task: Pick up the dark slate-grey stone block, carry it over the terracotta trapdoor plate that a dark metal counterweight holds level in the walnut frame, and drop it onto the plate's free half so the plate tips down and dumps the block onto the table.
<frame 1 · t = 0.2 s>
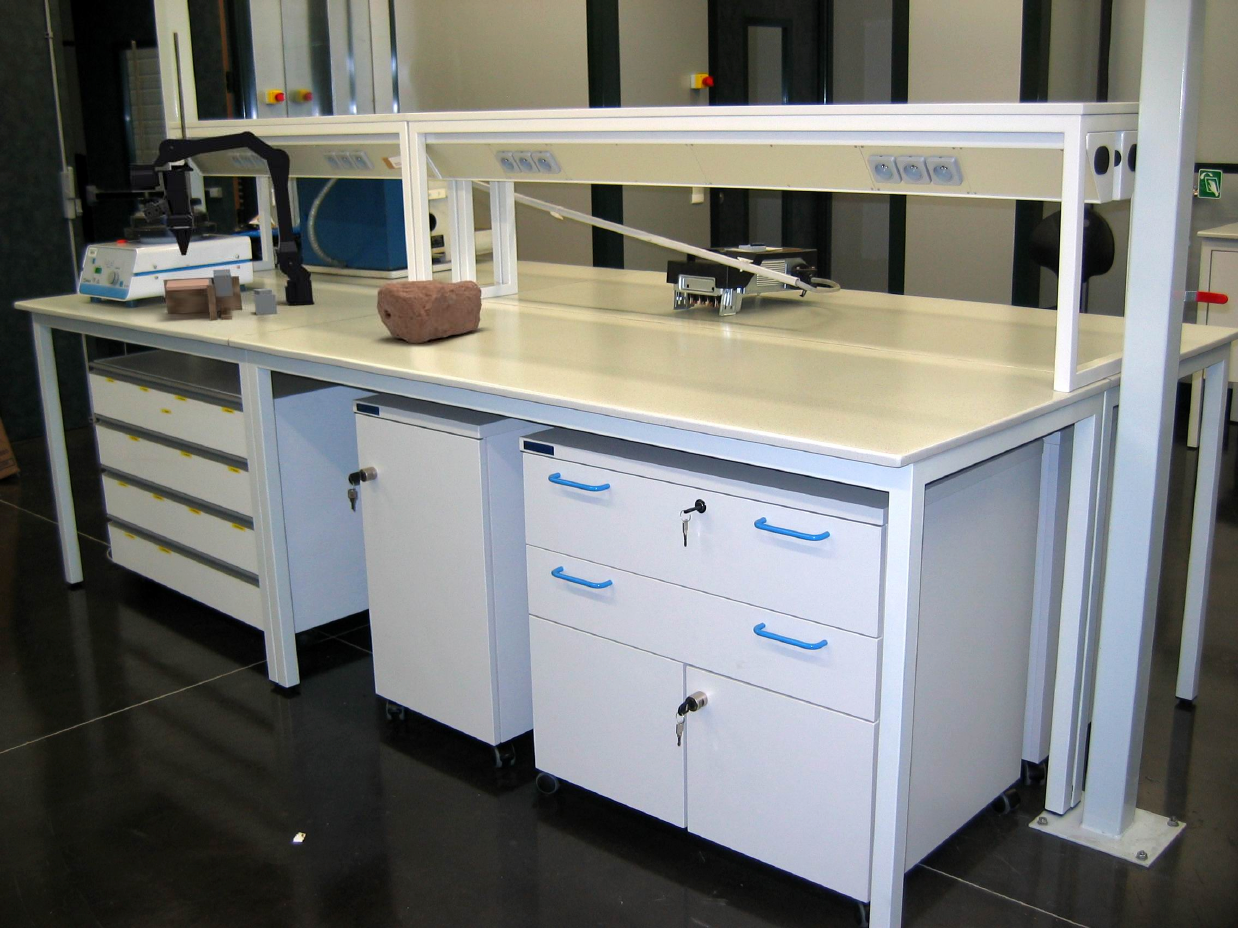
hand: (184, 253, 287), 14 cm above the table, fingers open, 9 cm apart
stone: (437, 336, 251), on the table
slate block: (266, 313, 285), on the table
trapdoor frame: (205, 316, 282), on the table
trapdoor: (199, 283, 279), point 8 cm above the table, hinge at 0.0°
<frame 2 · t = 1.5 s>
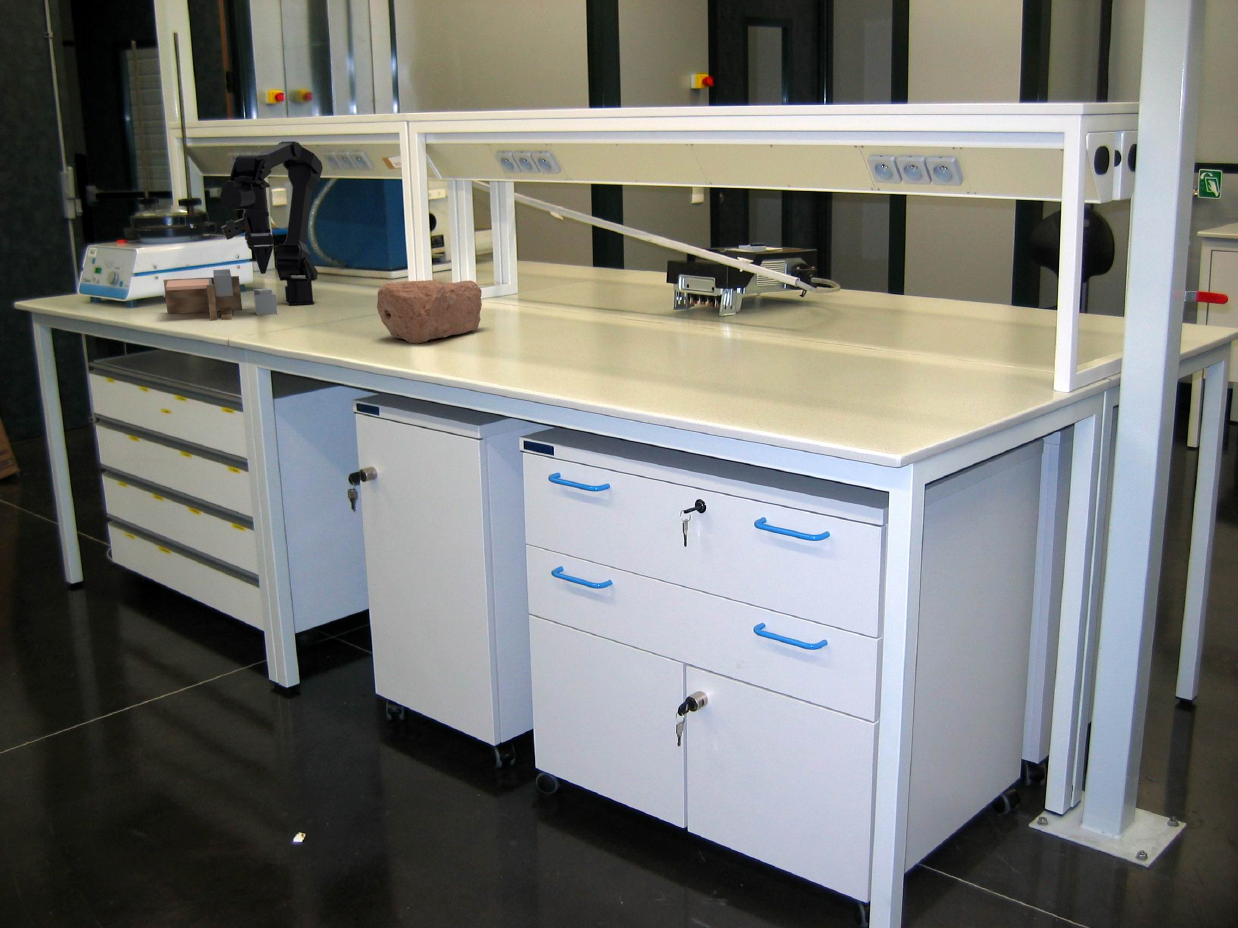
hand: (262, 271, 282), 10 cm above the table, fingers open, 9 cm apart
nothing on the table moved.
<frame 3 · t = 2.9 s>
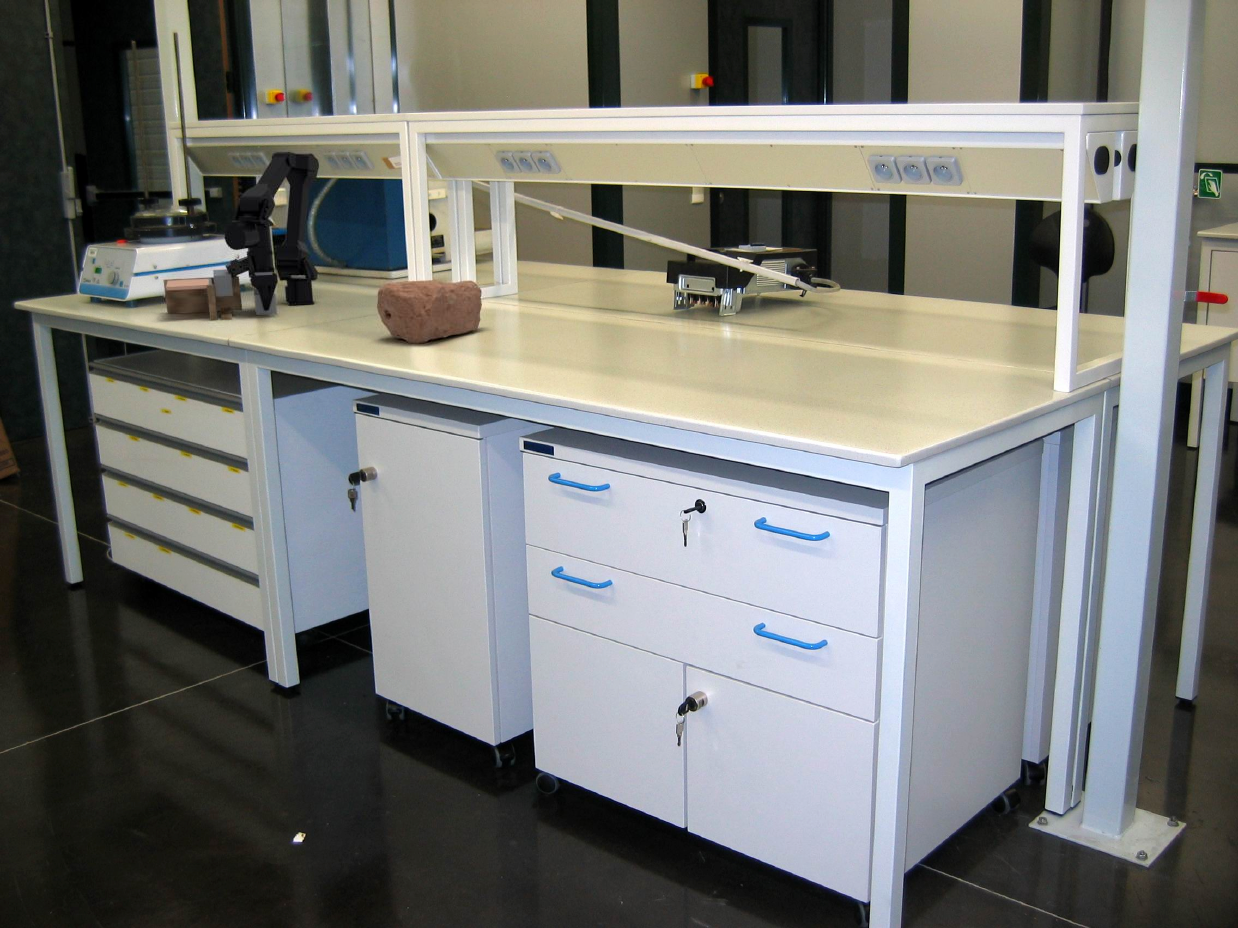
hand: (265, 309, 285), 1 cm above the table, fingers closed on slate block, 5 cm apart
slate block: (266, 313, 285), on the table, touching gripper
everything else where it was.
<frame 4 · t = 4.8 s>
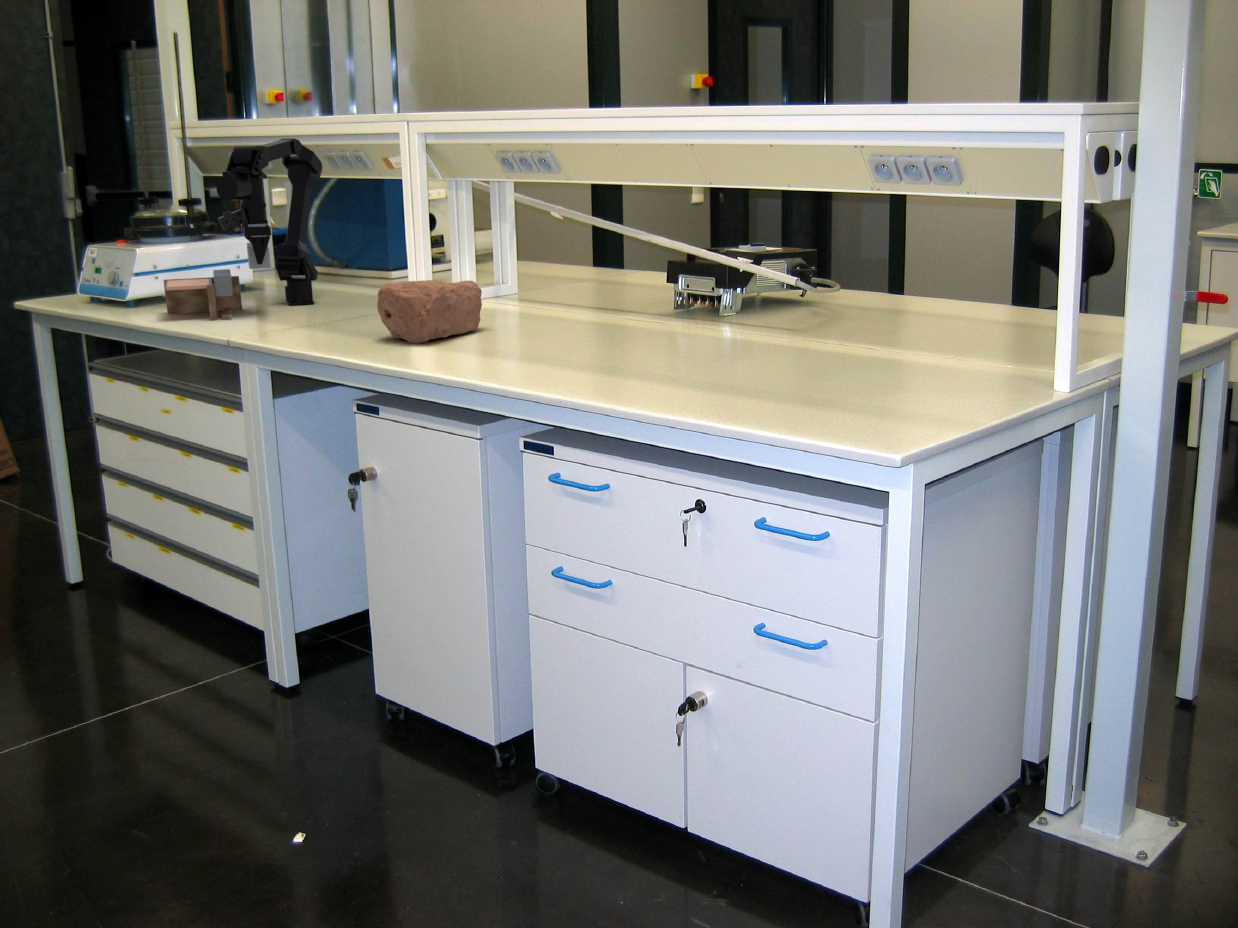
hand: (259, 263, 281), 13 cm above the table, fingers closed on slate block, 5 cm apart
slate block: (259, 267, 282), point 11 cm above the table, touching gripper
everything else where it was.
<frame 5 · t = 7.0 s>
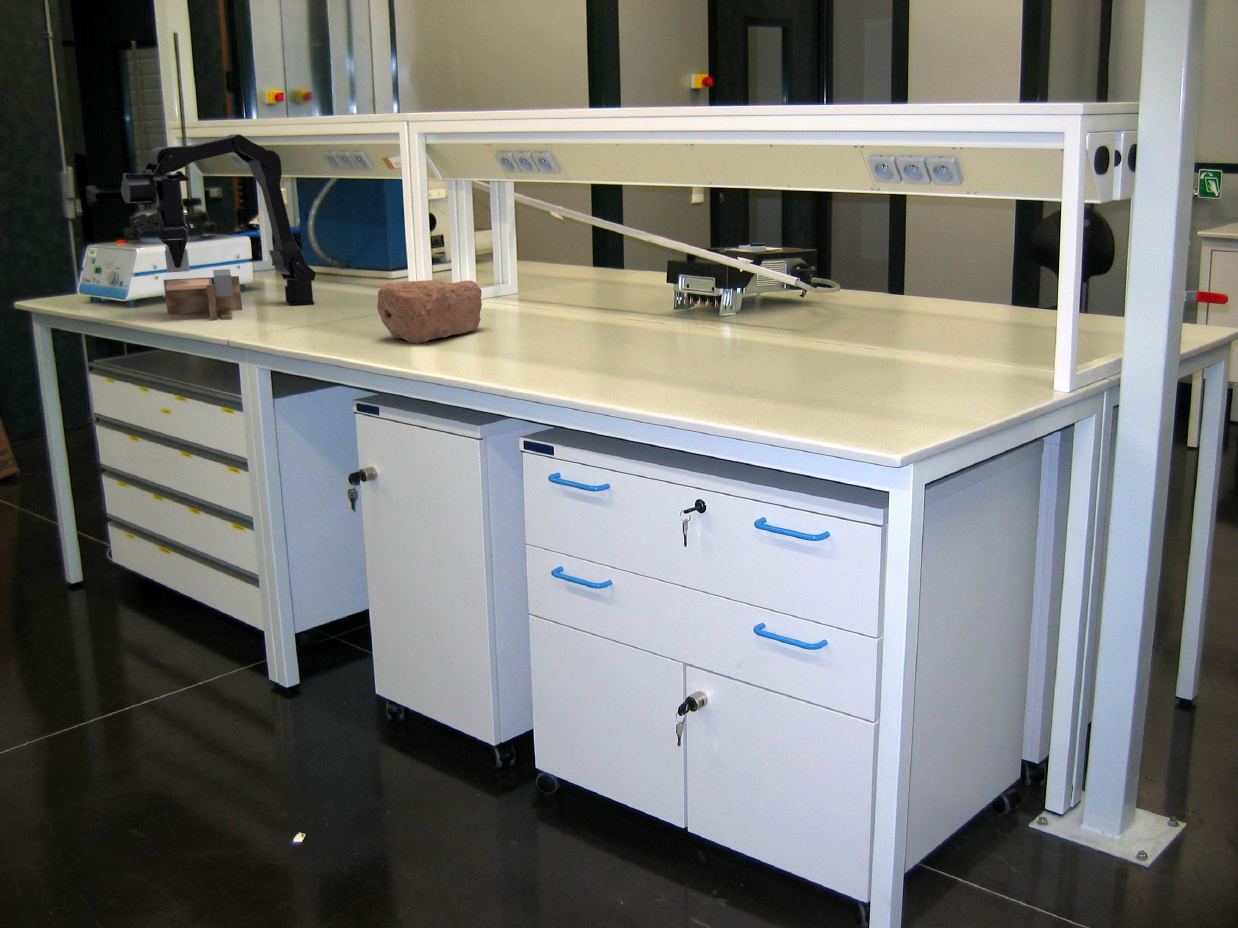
hand: (178, 266, 277), 12 cm above the table, fingers closed on slate block, 5 cm apart
slate block: (178, 270, 277), point 11 cm above the table, touching gripper
everything else where it was.
when the fingers open (12 cm above the table, at t = 7.0 s): slate block drops 6 cm, resting on trapdoor.
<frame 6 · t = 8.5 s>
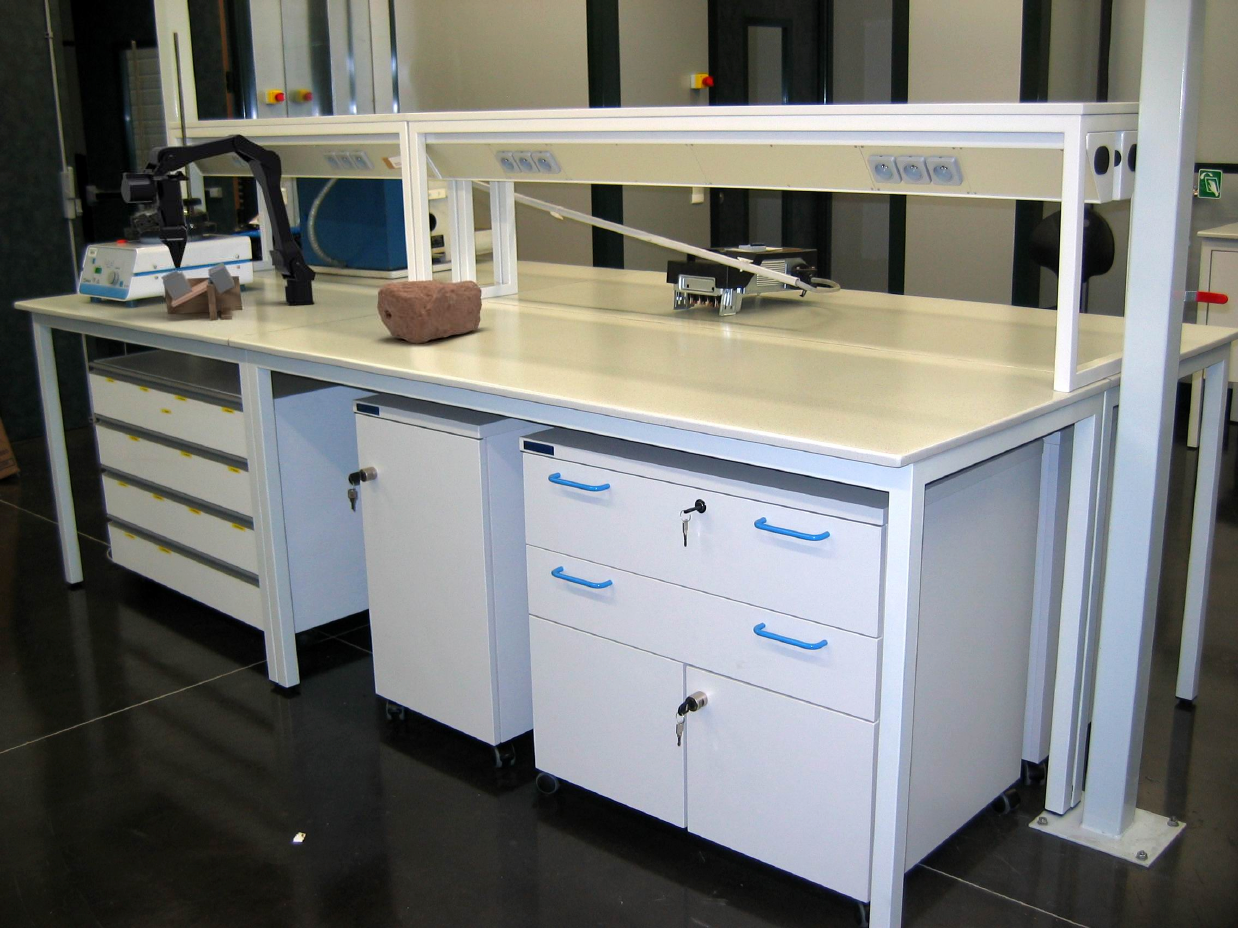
hand: (178, 266, 277), 12 cm above the table, fingers open, 9 cm apart
slate block: (183, 295, 279), point 5 cm above the table, tilted 25°, touching trapdoor
trapdoor: (200, 288, 280), point 7 cm above the table, hinge at -24.5°, touching slate block
everything else where it was.
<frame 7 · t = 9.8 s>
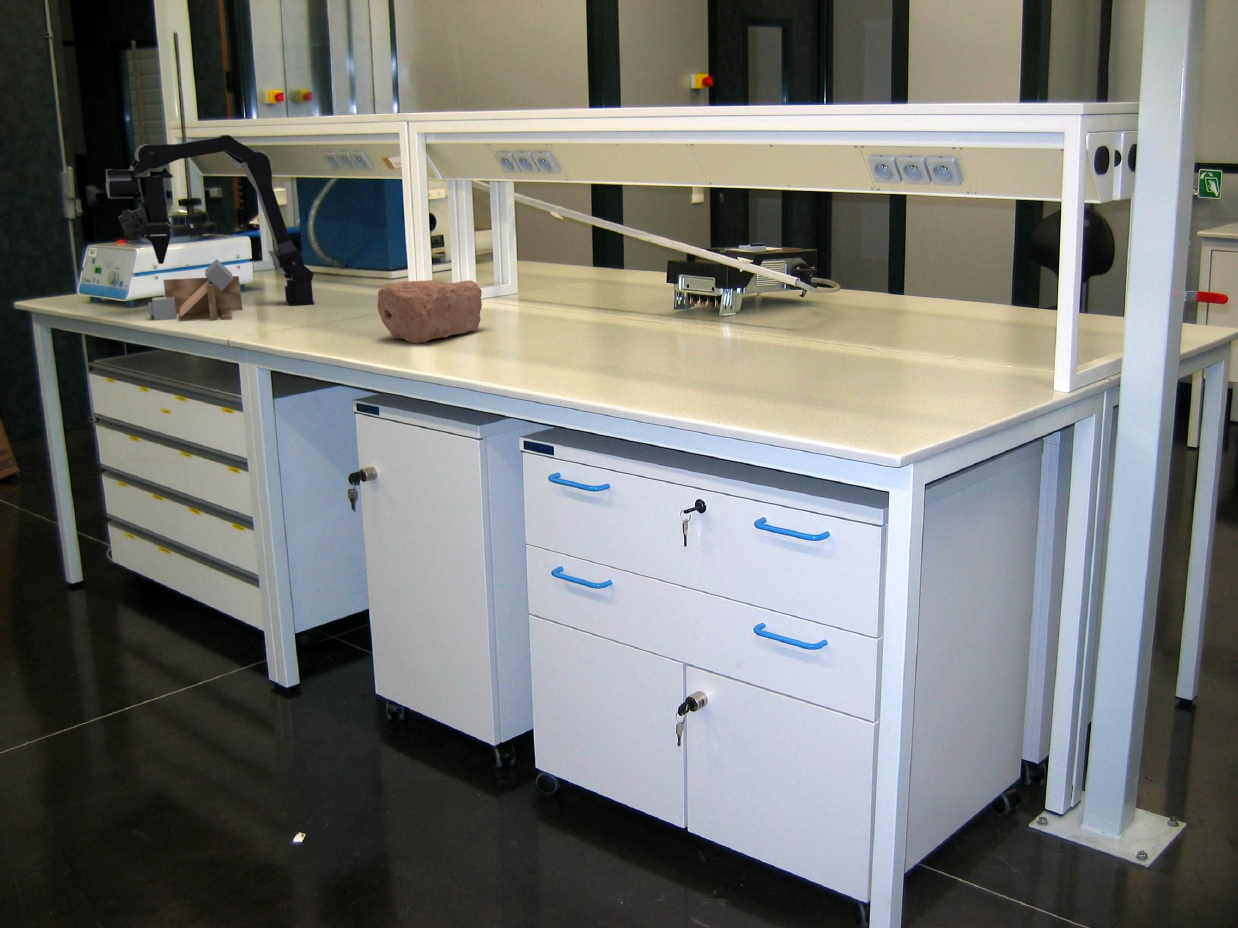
hand: (161, 262, 281), 13 cm above the table, fingers open, 9 cm apart
slate block: (175, 308, 279), point 2 cm above the table, tilted 90°
trapdoor: (202, 290, 280), point 6 cm above the table, hinge at -41.1°
everything else where it was.
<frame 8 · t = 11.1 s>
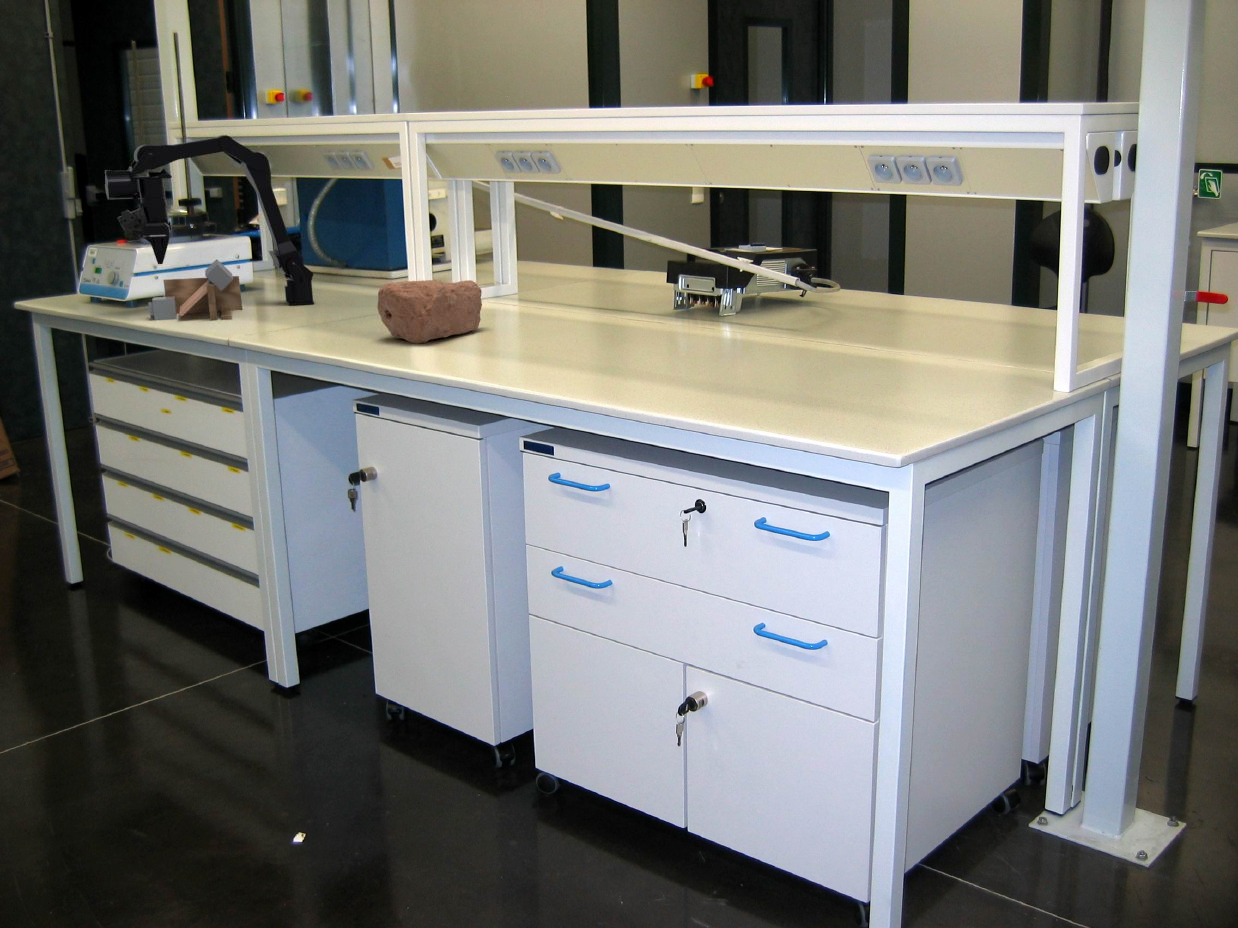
hand: (160, 262, 281), 13 cm above the table, fingers open, 9 cm apart
nothing on the table moved.
at the end: slate block point 2.4 cm above the table; slate block inside the target area (5.3 cm from its centre), point 2.4 cm above the table; the gripper is holding nothing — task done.
